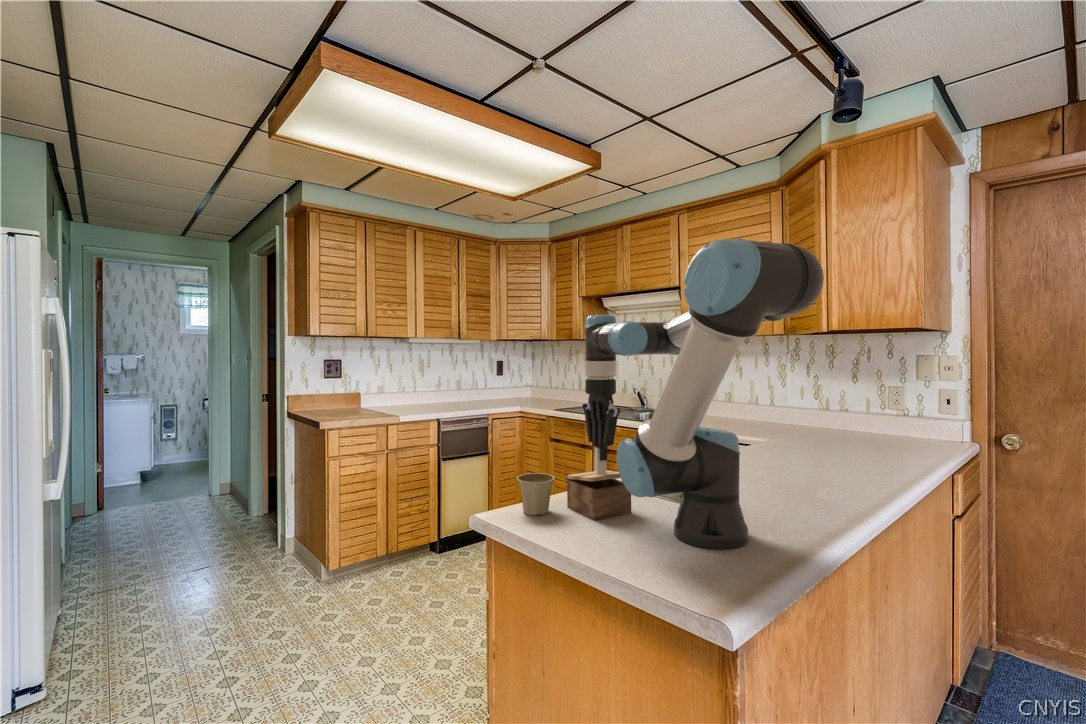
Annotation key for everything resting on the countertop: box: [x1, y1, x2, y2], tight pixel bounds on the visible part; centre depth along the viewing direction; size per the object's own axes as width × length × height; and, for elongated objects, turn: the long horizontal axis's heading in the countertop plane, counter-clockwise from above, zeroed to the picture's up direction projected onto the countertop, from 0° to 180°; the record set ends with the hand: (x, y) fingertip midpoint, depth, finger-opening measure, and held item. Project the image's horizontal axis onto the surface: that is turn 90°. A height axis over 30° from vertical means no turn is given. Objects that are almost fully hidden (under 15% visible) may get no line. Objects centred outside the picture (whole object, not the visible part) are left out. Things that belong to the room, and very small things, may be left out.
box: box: [566, 478, 632, 522], centre depth 129 cm, size 12×11×7 cm
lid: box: [565, 470, 621, 481], centre depth 129 cm, size 13×11×1 cm
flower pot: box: [516, 472, 555, 516], centre depth 128 cm, size 9×9×9 cm
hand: (600, 472), depth 128 cm, fingers closed
